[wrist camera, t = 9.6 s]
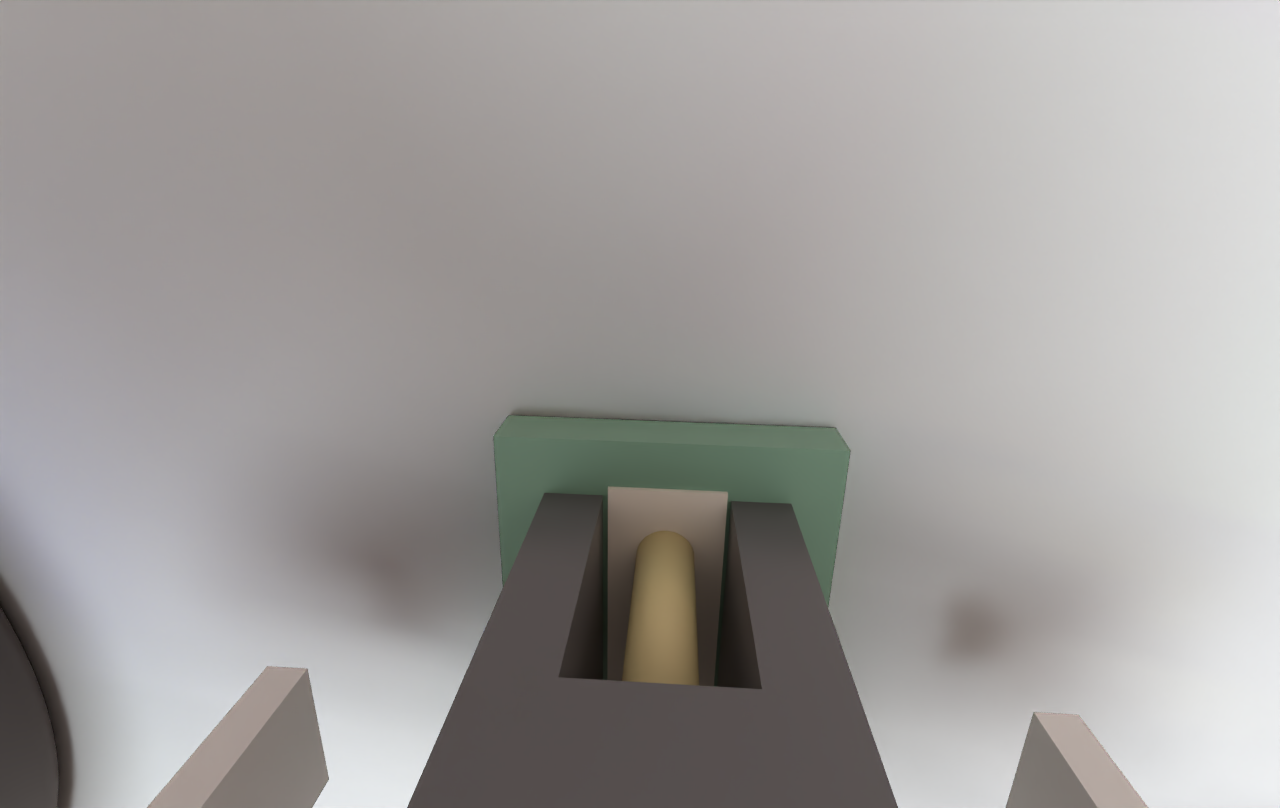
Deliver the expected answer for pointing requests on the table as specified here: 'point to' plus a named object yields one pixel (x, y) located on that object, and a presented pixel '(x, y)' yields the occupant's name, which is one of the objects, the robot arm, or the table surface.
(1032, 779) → the robot arm
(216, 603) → the table surface
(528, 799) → the gray orange-striped box
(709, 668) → the header
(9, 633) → the computer mouse
